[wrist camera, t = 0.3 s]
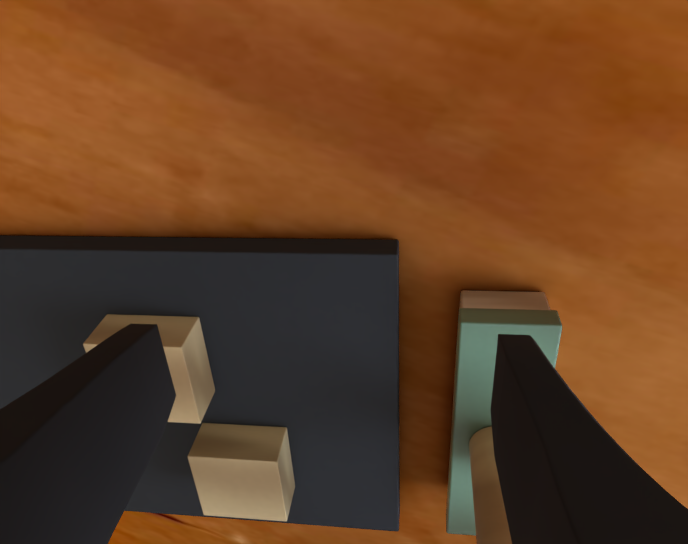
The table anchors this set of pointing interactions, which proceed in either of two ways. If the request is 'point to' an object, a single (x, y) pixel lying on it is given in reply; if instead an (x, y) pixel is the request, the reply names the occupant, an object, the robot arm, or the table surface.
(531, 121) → the table surface
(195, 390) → the offcut
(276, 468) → the offcut
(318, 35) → the table surface
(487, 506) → the brush
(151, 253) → the mat
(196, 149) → the table surface
